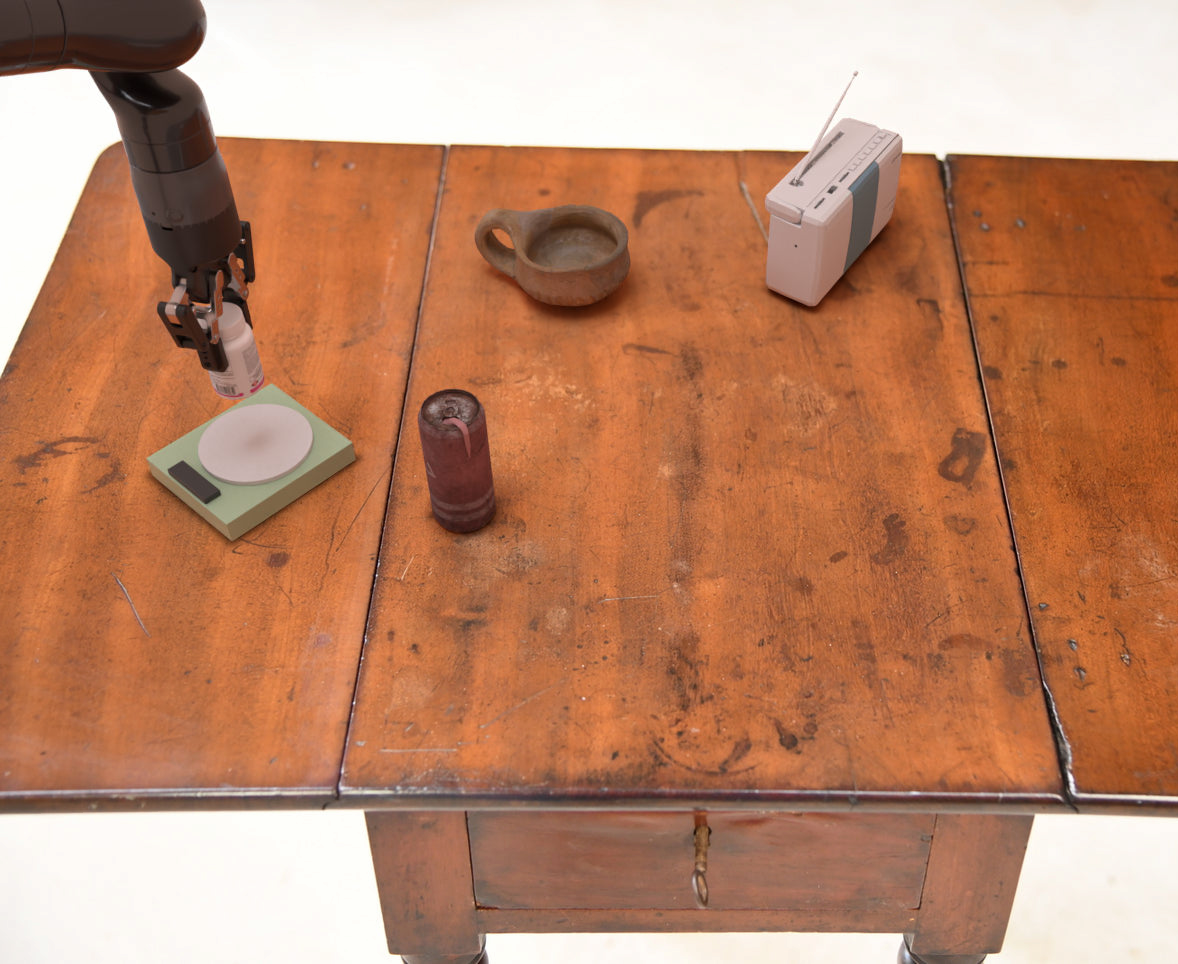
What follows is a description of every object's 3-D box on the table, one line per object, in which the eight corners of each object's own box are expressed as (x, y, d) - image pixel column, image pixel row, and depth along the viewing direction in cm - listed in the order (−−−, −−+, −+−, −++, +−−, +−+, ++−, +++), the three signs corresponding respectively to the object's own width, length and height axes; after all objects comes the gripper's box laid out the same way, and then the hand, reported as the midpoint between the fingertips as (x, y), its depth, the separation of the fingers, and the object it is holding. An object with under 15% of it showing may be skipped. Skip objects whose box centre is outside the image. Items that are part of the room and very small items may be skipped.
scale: (232, 542, 133) (224, 519, 131) (152, 475, 138) (143, 453, 136) (356, 459, 141) (351, 437, 139) (276, 400, 147) (270, 377, 144)
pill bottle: (253, 361, 135) (234, 292, 129) (273, 389, 132) (255, 320, 126) (205, 379, 133) (184, 310, 126) (225, 408, 130) (204, 339, 124)
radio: (816, 317, 160) (833, 168, 145) (754, 292, 162) (764, 144, 148) (894, 226, 172) (916, 81, 158) (835, 205, 175) (851, 60, 161)
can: (458, 546, 134) (443, 442, 124) (421, 509, 137) (403, 404, 127) (510, 516, 137) (499, 412, 127) (472, 480, 140) (458, 376, 130)
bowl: (464, 318, 155) (459, 232, 150) (485, 272, 167) (481, 191, 162) (625, 325, 155) (625, 239, 150) (634, 278, 167) (634, 197, 162)
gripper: (181, 144, 122) (223, 297, 134) (101, 239, 112) (155, 395, 125) (262, 155, 121) (297, 308, 134) (189, 252, 112) (235, 408, 124)
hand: (228, 349), depth 129 cm, fingers closed on pill bottle, 4 cm apart
